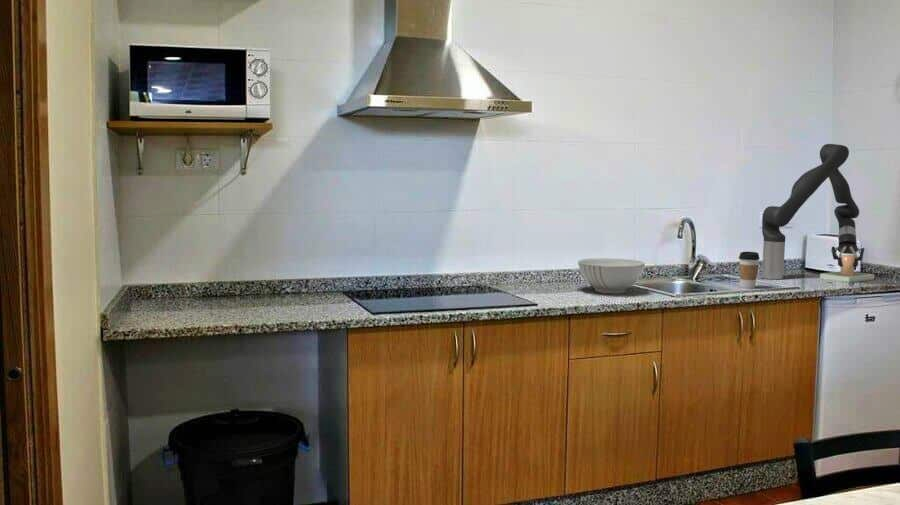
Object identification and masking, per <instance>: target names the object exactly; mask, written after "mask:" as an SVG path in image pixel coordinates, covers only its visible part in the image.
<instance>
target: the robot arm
mask: <svg viewBox="0 0 900 505" xmlns="http://www.w3.org/2000/svg"><path fill="white" fill-rule="evenodd" d="M849 155H850V150H849V148H848V146H846V145H843V144H837V143H826V144H824V145H822V146H821V148H820V150H819V158H820V161H821V163H820V164H819V165H818V166H816V167H814V168H811V169H809V170H807V171H806V172H804V173H803V174H802V175H801V176H799V177H798V178H797V180H796V181H794V183H793V185H792V188H791V193H790V195H789V198H788V199H787V200H786V201H785V202H784V203H782V205H780V206H773V205H770V206H767V207H766V208H765V209H764V210H763V213H762V218H761V227H762V228H761V230H762V231H761V233H762V236H763V244H762V245H763V247H762V248H763V249H762V260H761V261H762V264H761V279H766V280H767V279H768V280H782V279H784V271H785V270H784V268H785V267H784V266H785V251H786V250H785V248H786V235H785V234H784V233H782V231H781V230H780V228H783V227H785V226H787V225H788V224H789V223H790V222H791V221H792V219H793V218H794V217H795V215H796V214H797V212H798V211H799V210H800V209H801V208H802V206H803V205H804V204H805V202H807V201H808V200H809V198H810V197H811V196H812V195H813V194H815V192H816V191H817V190H818V189H819V187H820V186H821V185H822V184H823V183H824V182H826V180H827V179H829V181H830V184H831V188H832V190H833V195H834V196H833V197H834V199H835V200H834V201H835V202H836V203H838V204H841V205H837V206H836V207H835V208H834V210H833V212H834V216H835V218H836V221H837V223H838V237H837V238H838V246H837V247H835V246H831V250H830V251H831V255H832V259H833V260H837V266H839V267H840V268H841V266H842V253H853V254H855V264H854V269H855V268H857V267H858V266H859V261H860V262H861V261H863V257H864V254H865V248H864V247H861V248H859V247H858V246H857V245H858V244H857V231H856V221H855V220H854V219H856V218H858V217H859V215H860V208H859V206H858V205H857V204H856V202H855V201H854V198H853V196H852V193H851V189H850V184H849V182H848V181H847V179H846V178H845V177H844V175H843V174H842V172H841V171H840V170H839V168H840V167H842V165H843V164H845V162H846V161H847V160H848V158H849ZM837 251H838V252H839V255H837ZM857 252H858V253H859V256H858V255H857Z"/></svg>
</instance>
